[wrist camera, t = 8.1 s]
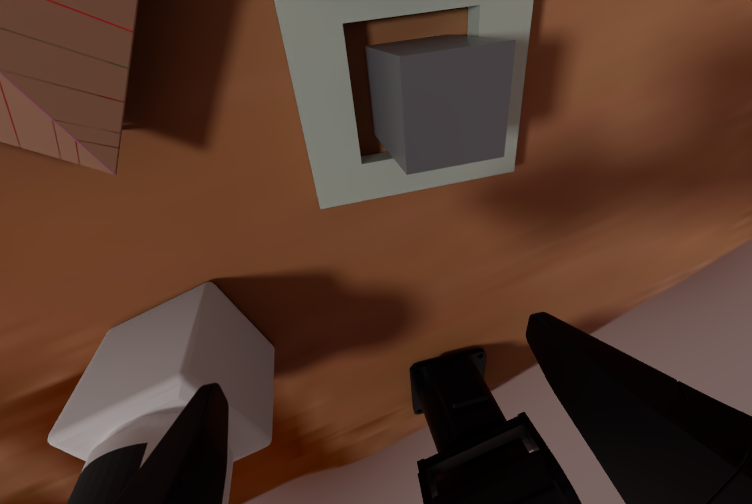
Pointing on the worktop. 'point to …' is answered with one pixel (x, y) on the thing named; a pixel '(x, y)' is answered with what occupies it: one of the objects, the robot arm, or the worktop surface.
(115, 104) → the house
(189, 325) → the medicine bottle
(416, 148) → the block
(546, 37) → the worktop surface
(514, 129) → the plate
